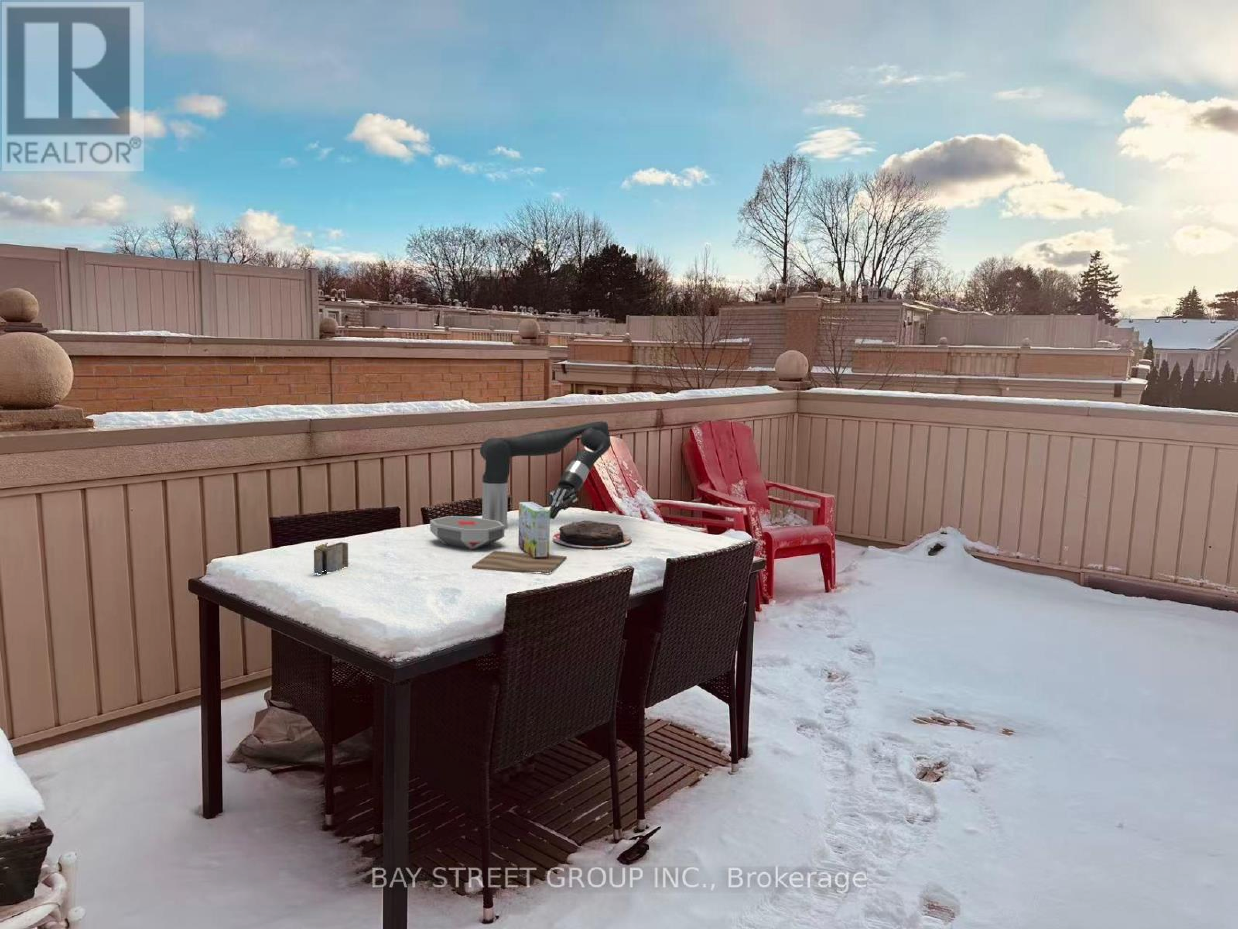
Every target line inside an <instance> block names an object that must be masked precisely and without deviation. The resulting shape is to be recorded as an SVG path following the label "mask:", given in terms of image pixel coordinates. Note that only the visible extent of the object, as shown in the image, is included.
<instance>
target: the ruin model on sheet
mask: <svg viewBox="0 0 1238 929" xmlns="http://www.w3.org/2000/svg"><path fill="white" fill-rule="evenodd" d="M328 544H329V542H328V541H327V542H326V543H322V544H320V545H317V546H315V549H313V574H314V573H318V574H321V575H322V576H323V573H322V571H325V570H326V572H325V574H326V573H327V572H332V573H334V572H333V571H335V572H337V571H336V570H338V571H340V570H339V569H341V570H343V569H342V568H344V567H347V568H349V543H348V542H342V541H339V542H337V543H334V544H330V545H328ZM344 569H345V568H344Z"/></svg>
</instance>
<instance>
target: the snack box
mask: <svg viewBox="0 0 1238 929" xmlns="http://www.w3.org/2000/svg"><path fill="white" fill-rule="evenodd" d="M550 527H551V519H550V509H547V508H545V507H543V506H542V505H539V504H538V503H536V502H533V501H520V502H518V547H520V548H521V549H522V550H523V551H525V553H529V554H530V555H531V556H532V557H534V558H542V557H549V555H550V539H551V538H550V534H551V532H550V529H551V528H550Z"/></svg>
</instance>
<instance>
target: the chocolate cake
mask: <svg viewBox="0 0 1238 929" xmlns="http://www.w3.org/2000/svg"><path fill="white" fill-rule="evenodd" d="M558 531H559V532H557V533H555V534H554V535H552V537H551V538H552V540H553V542H554V543H555V544H557V545H558V544H560V545H559V546H563V545H564V546H563V547H568V548H569V547H570V548H572V549H574V548H575V549H580V548H583V550H589V549H592V550H605V549H604V548H615V549H618V548H617V547H619V548H621V547H620V546H622V547H624V546H623V545H625V546H626V544H628V545H629V544H631V543H632V538H631V537H630V536H629V535H627V534H624V531H623V530H622V528H621V527H620V525H619V524H615V523H614V524H613V523H609V522H601V521H592V520H581V521H573V522H570V523H566V524H565V525H562V526H560V527H559V528H558Z"/></svg>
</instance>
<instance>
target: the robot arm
mask: <svg viewBox="0 0 1238 929" xmlns="http://www.w3.org/2000/svg"><path fill="white" fill-rule="evenodd" d="M608 424H609V423H607V422H606V421H602V420H601V421H594V422H593V421H592V422H590V423H584V424H579V425H575V426H570V427H564V428H563V427H562V428H555V429H554V428H553V429H546V430H541V431H535V432H530V433H527V434H523V435H518V436H514V437H513V436H511V437H510V436H509V437H498V438H497V437H491V438H488V439H486V440H485V441H483V443H482V444H481V446H480V448H479V453H480V455H481V458H483V459H484V460H485V466H484V467H485V469H484V473H483V475H482V492H481V493H482V502H481V503H482V505H481V506H482V507H481V508H482V509H481V510H482V511H481V514H482V515H481V518H482V519H488V520H494V521H499V522H500V523H502V524H503V525H505V529H506V530H507V528H508V497H509V496H508V493H509V492H508V489H509V488H508V487H509V486H508V484H509V481H508V480H509V476H510V474H511V473H510V470H511V469H510V468H511V458H513V457H521V456H525V457H526V456H527V457H537V456H538V457H540V456H542V457H543V456H547V455H554V454H558V453H560V452H562V451H563V450H564V449H565V448H566V447H568V445H569V444H570V443H571V442H572V441H573V440H575V439H576V438H577V437H579V436H580V435H581V436H580V443H581V445H582V446H583V447H584V448H587V449H588V450H587V449H579V450H578V451H577V452H576V454H575V455H574V457H573V459H572V460H571V462H570V464H568V466H567V467H566V469H565V471H564V472H563V474H562V476H561V477H560V478H559V481H558V485H557V487H555V488H554V490H553V491H550V490H548V491H547V492H546V497H547V503H548V505H549V506H550V508H549V510H550V520H554V519H555V518H556V517H557V516H558V514H559V512H560V511H562V510H563V511H566V510H568V509H569V508H570V507H572V506H574V505H576V504H577V503H578V502H579V498H578V497H577V494H578V493H579V491H580V490H581V488H582V487H583V485H584V483H585V481H586V480H587V478H588V476H589V473H590V472H591V469H592V467H593V466H594V464H595V463H596V461H598V460H599V458H601V457H602V456H603V455H604V454H606V452H608V450H609V449H610V447H611V444H612V443H611V437H610V436H611V435H610V429H609V425H608ZM505 529H504V530H505Z"/></svg>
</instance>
